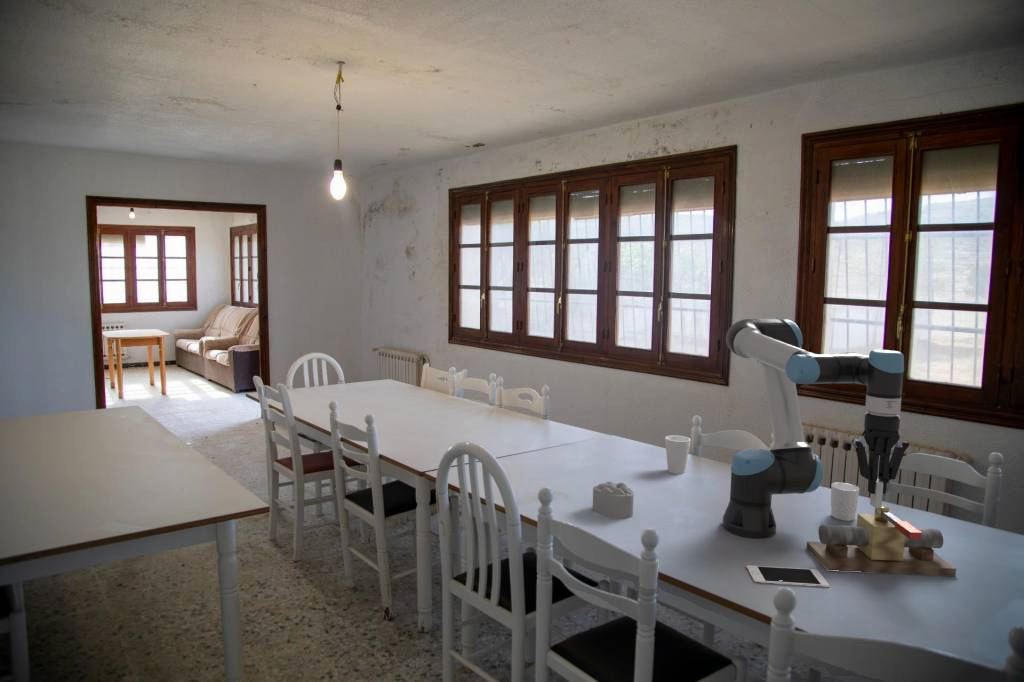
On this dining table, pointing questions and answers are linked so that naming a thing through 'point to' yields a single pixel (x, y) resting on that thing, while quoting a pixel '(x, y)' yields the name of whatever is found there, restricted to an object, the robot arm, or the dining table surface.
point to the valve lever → (897, 523)
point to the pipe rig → (879, 549)
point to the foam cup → (677, 453)
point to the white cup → (844, 501)
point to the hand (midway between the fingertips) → (875, 505)
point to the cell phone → (787, 575)
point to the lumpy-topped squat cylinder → (613, 500)
